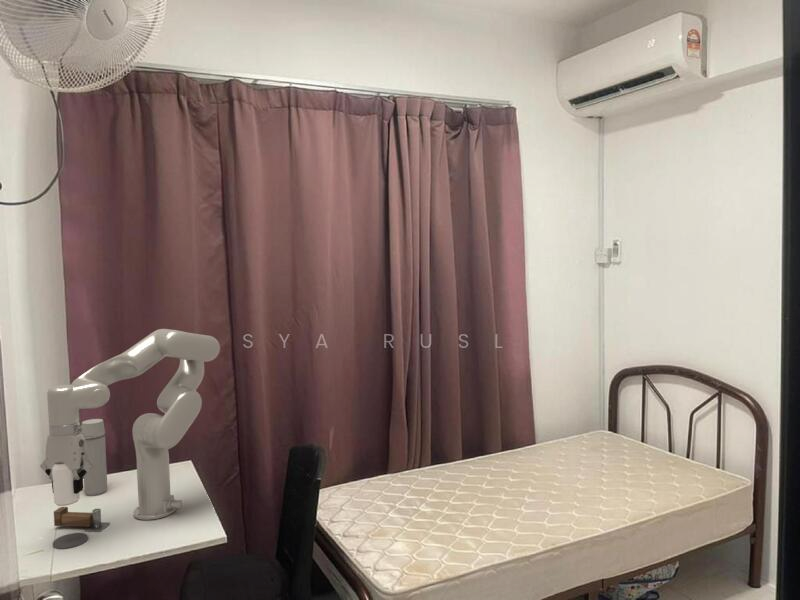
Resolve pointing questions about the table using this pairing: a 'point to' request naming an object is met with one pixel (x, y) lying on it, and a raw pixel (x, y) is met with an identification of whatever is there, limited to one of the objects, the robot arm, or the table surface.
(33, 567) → the table surface
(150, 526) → the table surface
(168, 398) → the robot arm
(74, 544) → the pad
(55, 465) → the can
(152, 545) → the table surface
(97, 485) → the water bottle
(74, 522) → the bar
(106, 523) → the ball knob on plate
